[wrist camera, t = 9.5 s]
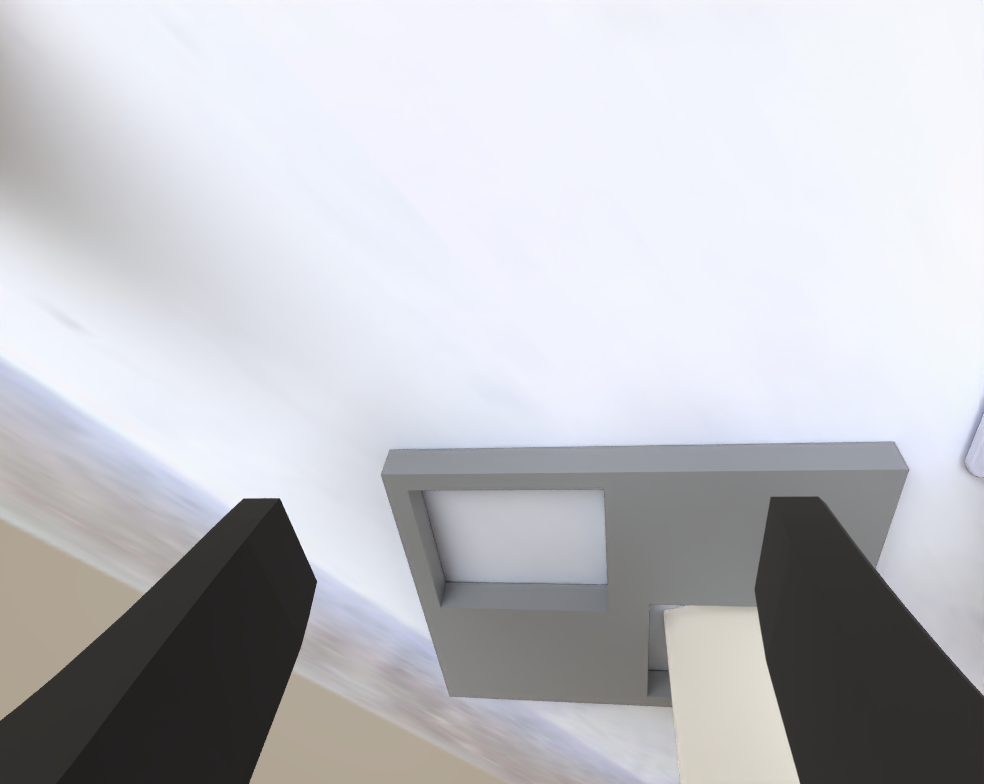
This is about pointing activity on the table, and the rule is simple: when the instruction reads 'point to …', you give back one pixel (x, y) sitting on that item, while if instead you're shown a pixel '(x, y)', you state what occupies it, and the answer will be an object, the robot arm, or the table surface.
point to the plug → (724, 699)
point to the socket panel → (622, 553)
